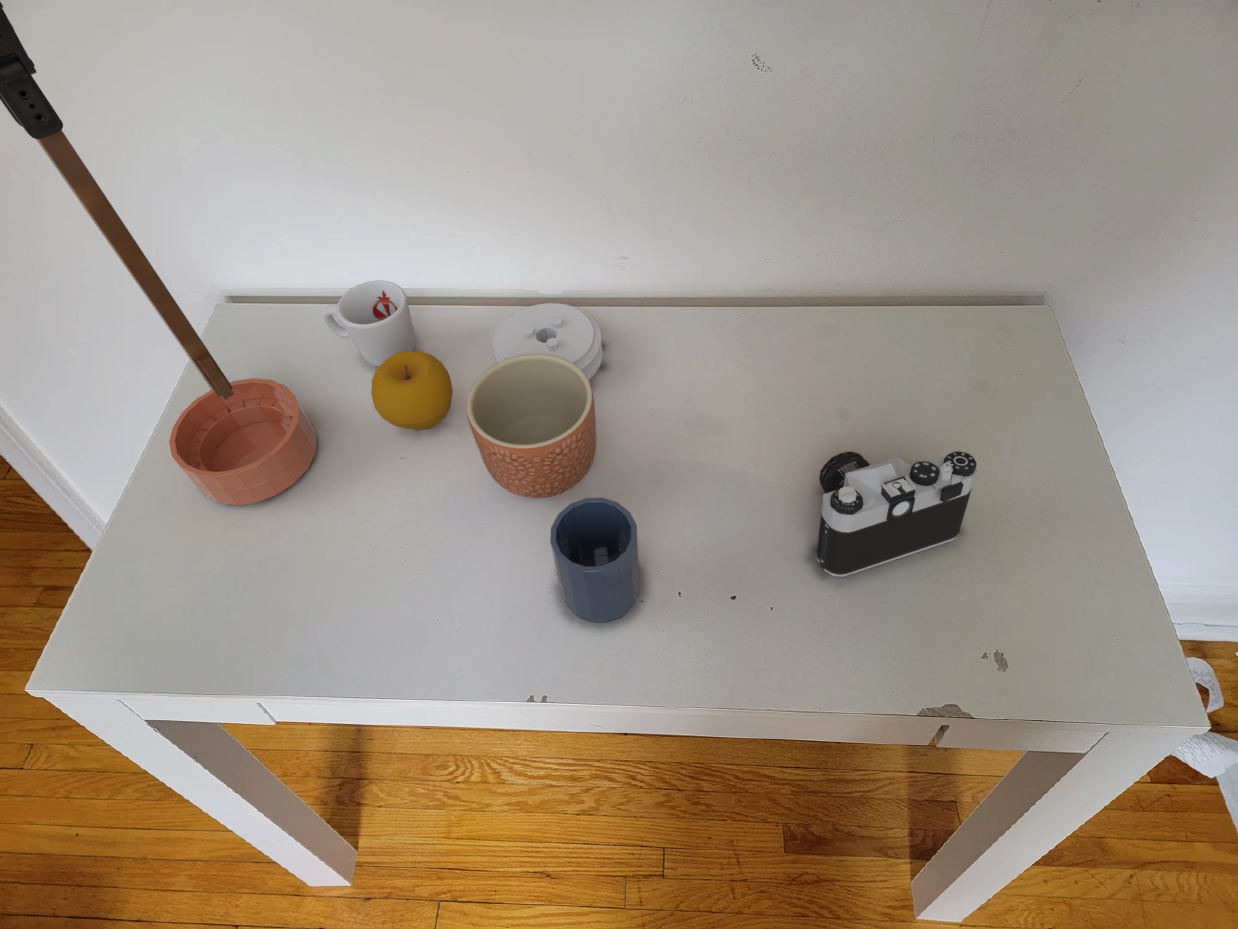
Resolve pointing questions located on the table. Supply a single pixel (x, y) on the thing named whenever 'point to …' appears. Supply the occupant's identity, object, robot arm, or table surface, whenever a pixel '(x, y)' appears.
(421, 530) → the table surface
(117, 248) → the stick
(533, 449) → the planter
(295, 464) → the bowl
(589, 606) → the crock
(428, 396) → the apple
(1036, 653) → the table surface
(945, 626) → the table surface
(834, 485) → the camera
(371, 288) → the cup
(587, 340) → the white thick round disc
